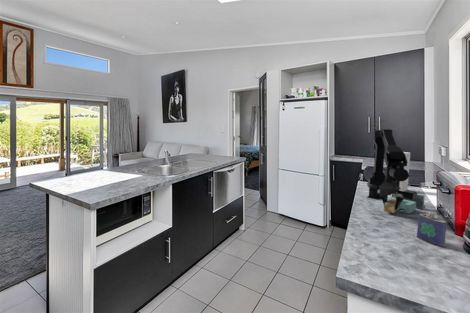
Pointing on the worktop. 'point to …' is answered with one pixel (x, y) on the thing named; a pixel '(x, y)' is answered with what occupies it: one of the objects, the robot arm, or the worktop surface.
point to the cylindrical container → (405, 183)
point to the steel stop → (418, 200)
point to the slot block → (406, 205)
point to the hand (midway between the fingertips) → (390, 208)
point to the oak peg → (390, 206)
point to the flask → (431, 229)
